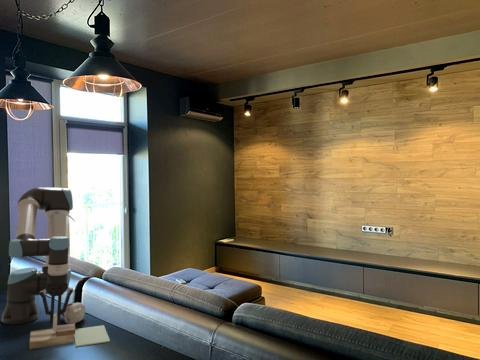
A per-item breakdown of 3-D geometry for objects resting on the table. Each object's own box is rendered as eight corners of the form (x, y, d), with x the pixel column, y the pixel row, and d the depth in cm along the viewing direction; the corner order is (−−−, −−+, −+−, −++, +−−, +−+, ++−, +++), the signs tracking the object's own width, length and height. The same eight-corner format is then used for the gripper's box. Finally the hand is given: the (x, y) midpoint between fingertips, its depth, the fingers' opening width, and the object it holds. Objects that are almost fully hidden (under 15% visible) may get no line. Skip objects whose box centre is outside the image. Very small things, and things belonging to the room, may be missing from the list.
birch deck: (30, 337, 152) (30, 331, 152) (72, 331, 159) (72, 325, 159) (29, 349, 141) (29, 342, 141) (73, 342, 149) (74, 336, 149)
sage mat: (73, 330, 160) (73, 329, 160) (103, 326, 167) (103, 325, 167) (76, 347, 145) (76, 345, 145) (109, 341, 151) (109, 340, 151)
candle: (76, 326, 163) (51, 325, 168) (94, 318, 174) (70, 317, 179) (75, 306, 164) (50, 305, 169) (93, 299, 174) (69, 299, 179)
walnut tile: (56, 330, 154) (56, 325, 154) (74, 328, 157) (74, 323, 157) (56, 336, 148) (56, 331, 148) (75, 334, 151) (75, 329, 151)
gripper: (39, 276, 145) (36, 335, 144) (75, 274, 151) (72, 331, 150) (40, 272, 151) (37, 329, 151) (74, 270, 157) (71, 324, 157)
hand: (54, 330), depth 150 cm, fingers closed
